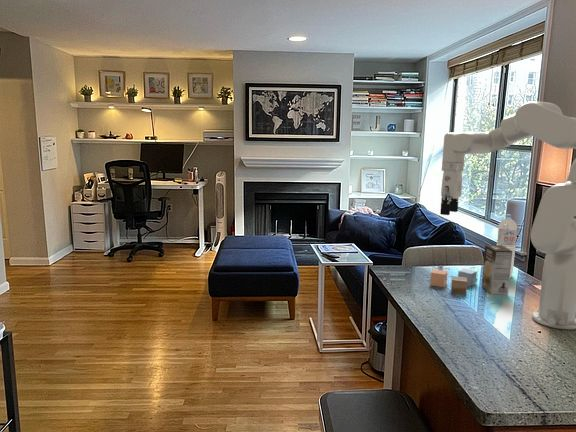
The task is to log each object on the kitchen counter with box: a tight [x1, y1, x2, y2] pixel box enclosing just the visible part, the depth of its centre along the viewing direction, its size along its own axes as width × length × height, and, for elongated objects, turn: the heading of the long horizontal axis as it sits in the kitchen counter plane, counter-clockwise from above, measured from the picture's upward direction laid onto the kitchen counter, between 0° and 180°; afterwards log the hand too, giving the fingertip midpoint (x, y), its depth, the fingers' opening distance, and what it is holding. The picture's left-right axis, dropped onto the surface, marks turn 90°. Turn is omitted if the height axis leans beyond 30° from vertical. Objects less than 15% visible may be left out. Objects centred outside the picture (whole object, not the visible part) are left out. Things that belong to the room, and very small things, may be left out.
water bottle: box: [496, 213, 518, 277], centre depth 180 cm, size 7×7×25 cm
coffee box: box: [481, 244, 513, 295], centre depth 161 cm, size 9×6×16 cm
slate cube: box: [457, 268, 478, 287], centre depth 170 cm, size 5×5×5 cm
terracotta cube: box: [429, 268, 448, 288], centre depth 168 cm, size 5×5×5 cm
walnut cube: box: [450, 275, 468, 296], centre depth 160 cm, size 5×5×5 cm
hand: (449, 213), depth 166 cm, fingers open, 9 cm apart
